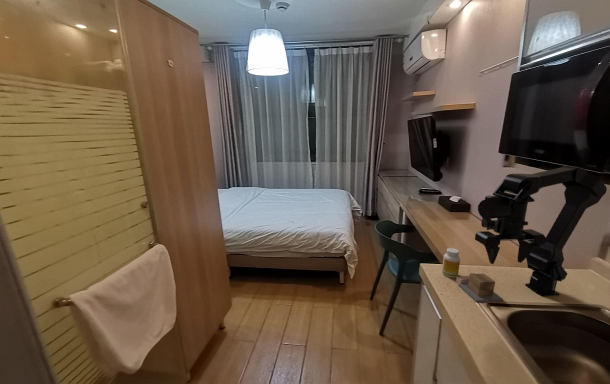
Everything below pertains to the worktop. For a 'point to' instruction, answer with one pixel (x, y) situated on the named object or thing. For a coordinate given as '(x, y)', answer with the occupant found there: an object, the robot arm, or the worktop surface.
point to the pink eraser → (463, 280)
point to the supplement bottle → (451, 263)
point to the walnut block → (481, 284)
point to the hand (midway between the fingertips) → (505, 262)
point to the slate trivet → (479, 298)
